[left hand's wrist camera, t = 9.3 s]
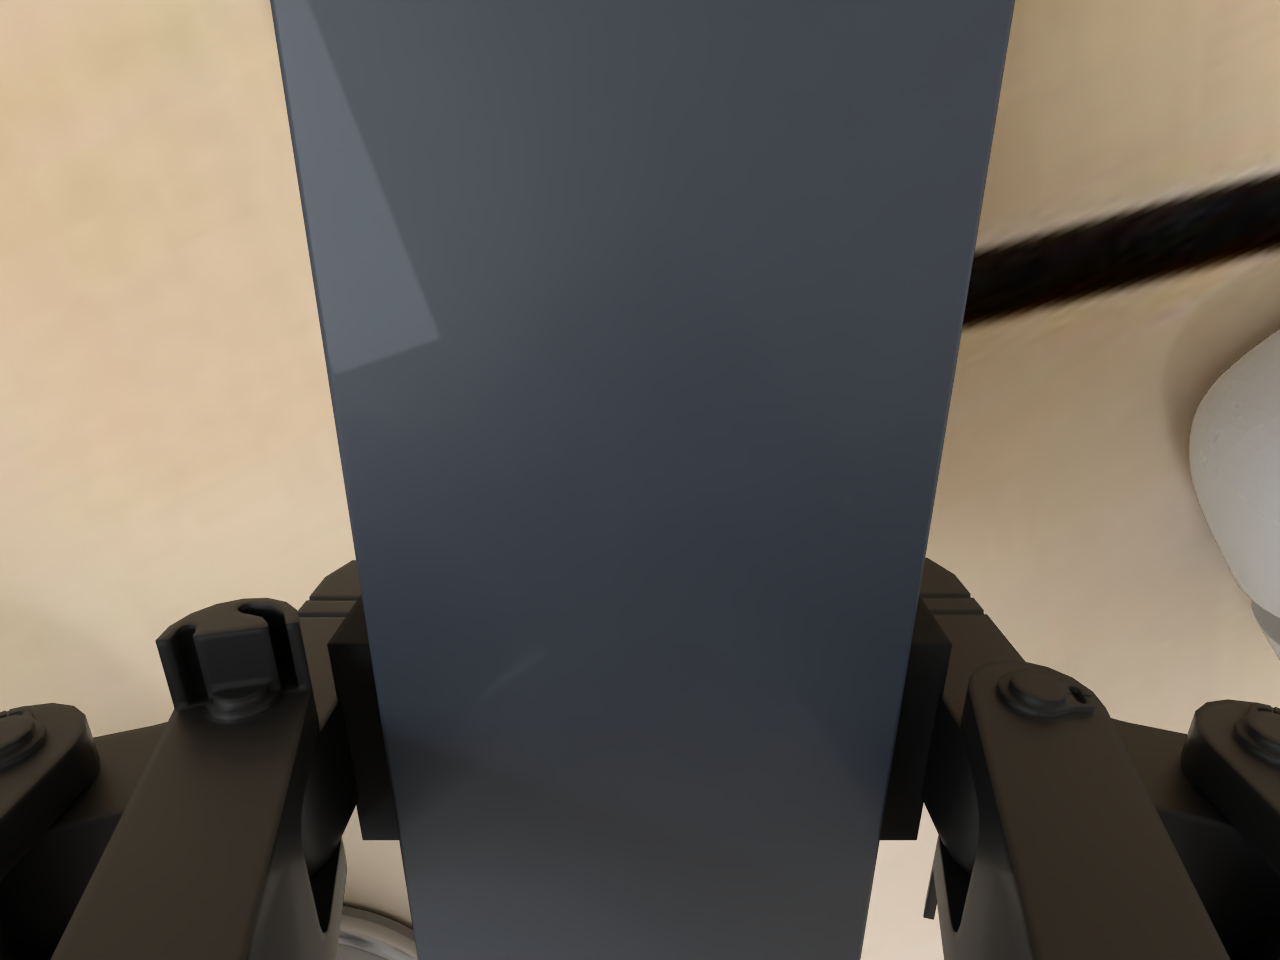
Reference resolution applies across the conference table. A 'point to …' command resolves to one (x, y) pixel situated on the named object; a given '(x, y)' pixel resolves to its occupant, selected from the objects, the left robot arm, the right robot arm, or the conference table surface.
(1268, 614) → the projector
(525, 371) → the bar
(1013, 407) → the conference table surface
